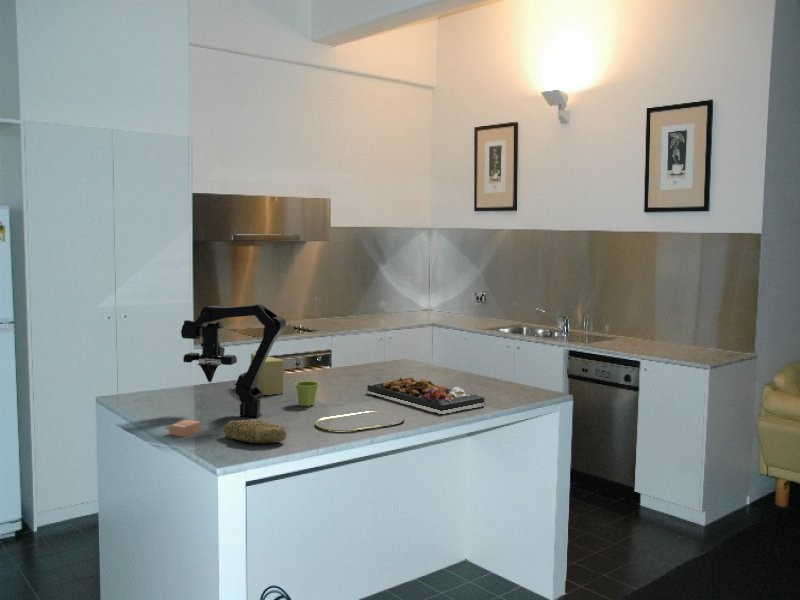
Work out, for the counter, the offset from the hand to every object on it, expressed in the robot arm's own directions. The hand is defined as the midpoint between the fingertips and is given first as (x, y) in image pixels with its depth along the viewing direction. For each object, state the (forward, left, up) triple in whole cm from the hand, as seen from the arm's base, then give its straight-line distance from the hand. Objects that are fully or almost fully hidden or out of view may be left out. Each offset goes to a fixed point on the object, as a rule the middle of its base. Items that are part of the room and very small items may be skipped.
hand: (209, 381), depth 273 cm
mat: (-5, +25, -12) cm, 28 cm away
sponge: (-29, +29, -12) cm, 43 cm away
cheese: (-4, -45, -12) cm, 47 cm away
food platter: (-74, -47, -13) cm, 89 cm away
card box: (-5, +24, -10) cm, 26 cm away
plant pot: (-30, -24, -12) cm, 40 cm away
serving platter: (-57, -3, -13) cm, 58 cm away
